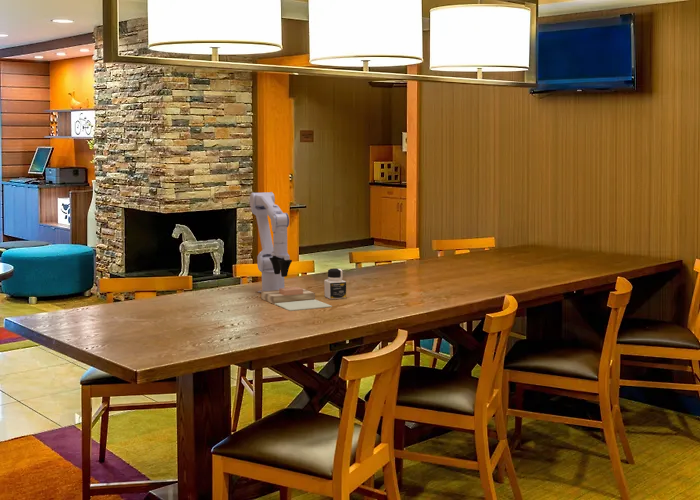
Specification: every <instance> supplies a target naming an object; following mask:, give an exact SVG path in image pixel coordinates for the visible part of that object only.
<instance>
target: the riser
mask: <svg viewBox="0 0 700 500" xmlns="http://www.w3.org/2000/svg"><path fill="white" fill-rule="evenodd" d="M302 289H303V294H297V295H282V294H280V293H279V290H272V291H261V290H260V291H261V293H260V299H261V300H263V301H266V302H268V303H271V304H273V305H275V304H274V303H283V302H294V301H304V300H316V292H313V291H310V290H308V289H304V288H302Z"/></svg>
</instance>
